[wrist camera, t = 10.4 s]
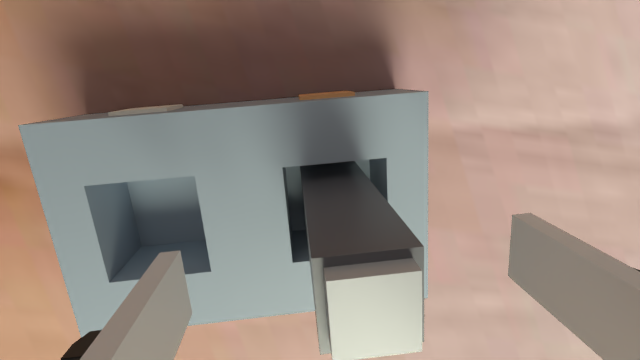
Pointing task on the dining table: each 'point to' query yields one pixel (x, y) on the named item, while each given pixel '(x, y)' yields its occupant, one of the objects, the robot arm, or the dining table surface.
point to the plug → (361, 266)
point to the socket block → (216, 194)
